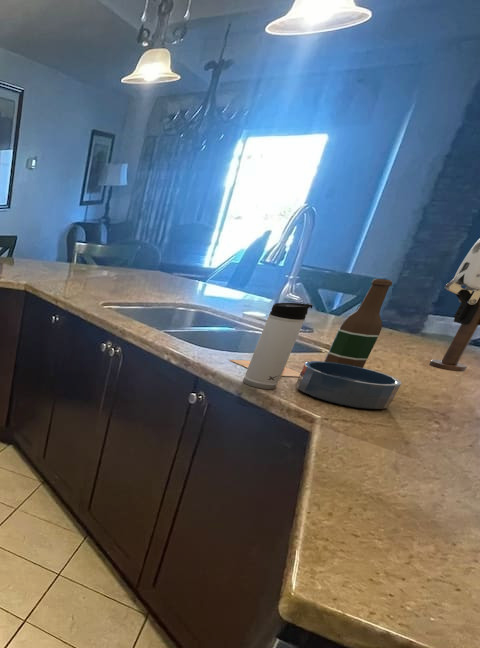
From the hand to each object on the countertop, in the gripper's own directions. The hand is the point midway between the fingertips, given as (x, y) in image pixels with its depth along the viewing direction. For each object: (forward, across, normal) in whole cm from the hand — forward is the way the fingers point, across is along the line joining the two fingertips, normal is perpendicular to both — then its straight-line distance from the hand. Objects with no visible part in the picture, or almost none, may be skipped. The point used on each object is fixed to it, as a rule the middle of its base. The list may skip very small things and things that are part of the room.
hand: (470, 323), depth 99 cm
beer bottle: (+19, -5, +24) cm, 31 cm away
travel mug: (+19, -30, +1) cm, 35 cm away
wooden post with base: (+10, 0, 0) cm, 10 cm away
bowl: (+19, -15, 0) cm, 24 cm away
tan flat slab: (+19, -23, +18) cm, 34 cm away
